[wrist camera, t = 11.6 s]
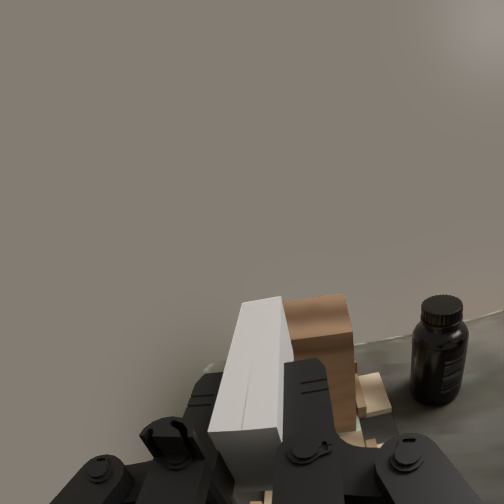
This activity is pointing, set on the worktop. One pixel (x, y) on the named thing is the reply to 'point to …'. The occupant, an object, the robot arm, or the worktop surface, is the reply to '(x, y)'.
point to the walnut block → (327, 349)
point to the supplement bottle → (438, 351)
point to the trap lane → (367, 426)
